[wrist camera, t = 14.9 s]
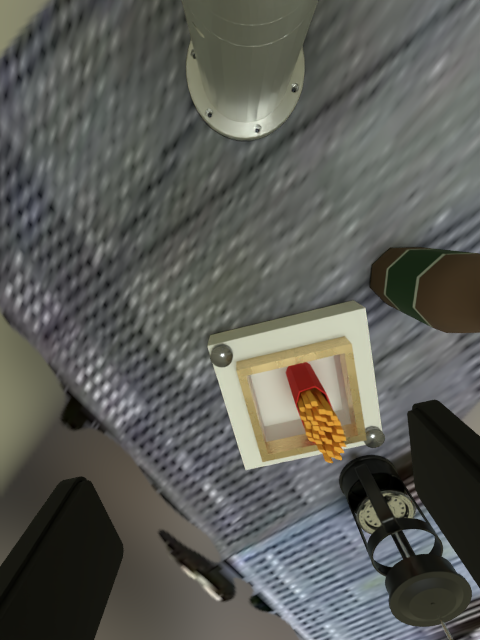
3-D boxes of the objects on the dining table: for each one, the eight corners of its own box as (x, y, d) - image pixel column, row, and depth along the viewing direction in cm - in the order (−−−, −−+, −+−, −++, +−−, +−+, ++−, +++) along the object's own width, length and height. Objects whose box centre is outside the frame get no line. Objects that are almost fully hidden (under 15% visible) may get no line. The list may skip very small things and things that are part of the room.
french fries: (280, 361, 42) (295, 410, 31) (306, 351, 42) (333, 398, 30) (298, 409, 45) (319, 472, 33) (324, 401, 44) (354, 461, 33)
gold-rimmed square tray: (210, 335, 42) (205, 354, 35) (353, 300, 40) (374, 313, 34) (245, 450, 47) (246, 484, 41) (371, 423, 46) (392, 453, 40)
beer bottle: (376, 312, 41) (554, 420, 18) (359, 259, 39) (535, 305, 16) (432, 289, 40) (695, 372, 17) (418, 234, 38) (695, 243, 15)
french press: (406, 489, 50) (538, 695, 28) (354, 511, 51) (441, 724, 29) (379, 438, 47) (504, 623, 25) (325, 462, 48) (398, 659, 26)
